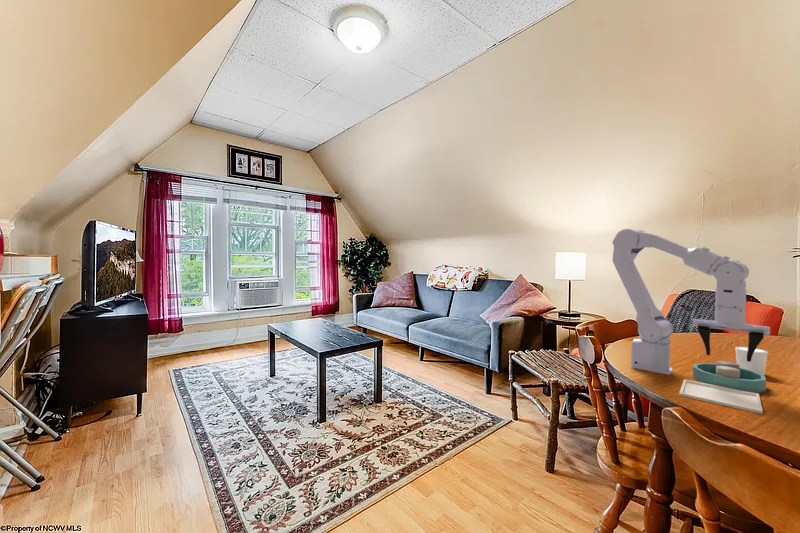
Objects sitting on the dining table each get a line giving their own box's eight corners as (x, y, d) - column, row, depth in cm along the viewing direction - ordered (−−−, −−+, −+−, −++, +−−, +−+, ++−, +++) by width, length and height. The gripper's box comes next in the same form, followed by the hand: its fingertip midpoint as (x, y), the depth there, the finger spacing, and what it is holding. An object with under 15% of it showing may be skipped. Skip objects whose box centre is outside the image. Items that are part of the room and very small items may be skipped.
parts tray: (679, 397, 83) (679, 392, 83) (683, 383, 92) (684, 379, 92) (762, 416, 73) (762, 411, 73) (758, 398, 82) (758, 393, 82)
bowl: (691, 383, 92) (691, 371, 92) (695, 371, 102) (695, 360, 102) (767, 399, 82) (767, 385, 82) (763, 383, 92) (763, 371, 92)
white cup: (728, 368, 105) (728, 346, 104) (748, 368, 105) (748, 346, 105) (753, 376, 98) (753, 352, 97) (774, 376, 98) (775, 352, 98)
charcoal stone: (727, 380, 92) (727, 366, 92) (711, 374, 96) (711, 360, 96) (743, 380, 92) (744, 366, 92) (727, 374, 96) (727, 360, 96)
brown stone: (727, 386, 87) (728, 371, 87) (710, 380, 92) (711, 365, 92) (744, 386, 87) (745, 371, 87) (727, 380, 92) (727, 365, 92)
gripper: (692, 305, 91) (690, 354, 92) (772, 311, 81) (769, 367, 82) (694, 302, 96) (692, 349, 97) (769, 308, 86) (767, 361, 87)
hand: (727, 357), depth 90 cm, fingers open, 7 cm apart
